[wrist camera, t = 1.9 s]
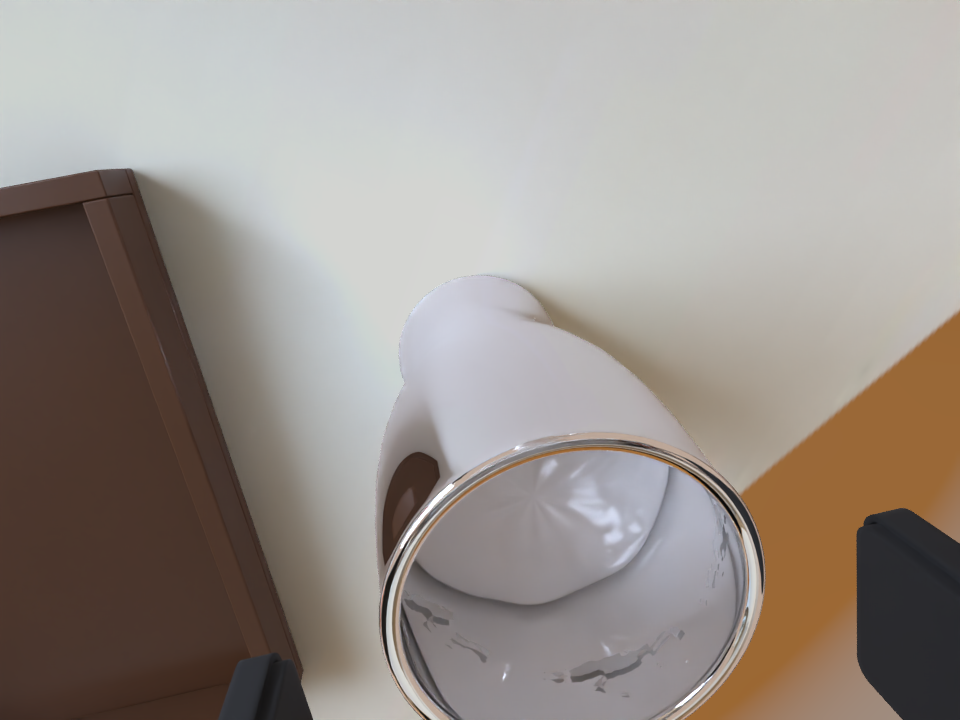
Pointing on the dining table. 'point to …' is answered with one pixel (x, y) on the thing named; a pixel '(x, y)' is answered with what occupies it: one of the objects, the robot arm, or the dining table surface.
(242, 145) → the dining table surface
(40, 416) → the tray
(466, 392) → the beer glass
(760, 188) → the dining table surface
